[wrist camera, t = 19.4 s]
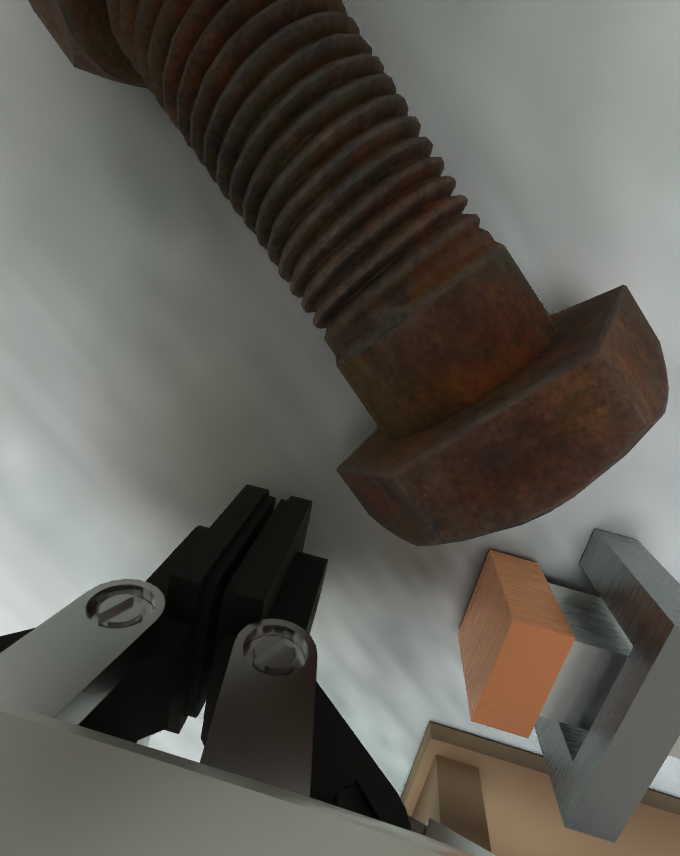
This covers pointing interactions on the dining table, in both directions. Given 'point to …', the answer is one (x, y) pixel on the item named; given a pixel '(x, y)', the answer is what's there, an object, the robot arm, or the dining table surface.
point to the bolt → (387, 262)
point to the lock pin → (537, 650)
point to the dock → (519, 802)
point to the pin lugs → (621, 696)
